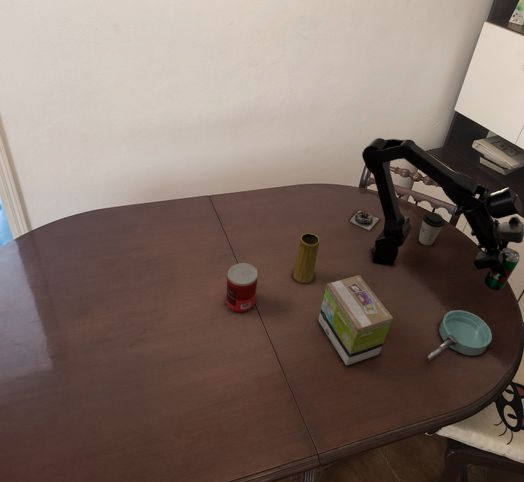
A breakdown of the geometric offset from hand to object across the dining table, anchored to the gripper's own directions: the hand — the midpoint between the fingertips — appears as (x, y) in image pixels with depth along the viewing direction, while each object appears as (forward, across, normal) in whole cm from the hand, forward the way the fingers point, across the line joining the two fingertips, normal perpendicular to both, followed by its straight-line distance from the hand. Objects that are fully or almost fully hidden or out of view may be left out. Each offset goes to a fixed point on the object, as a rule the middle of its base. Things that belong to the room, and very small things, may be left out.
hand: (507, 270), depth 124 cm
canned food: (-30, -42, +50) cm, 72 cm away
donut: (-21, +14, +41) cm, 48 cm away
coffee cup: (-7, +17, +26) cm, 32 cm away
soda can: (+4, 0, +6) cm, 7 cm away
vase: (-24, -22, +44) cm, 55 cm away
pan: (+7, -17, +12) cm, 22 cm away
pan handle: (+3, -27, +13) cm, 30 cm away
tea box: (-10, -36, +30) cm, 47 cm away
